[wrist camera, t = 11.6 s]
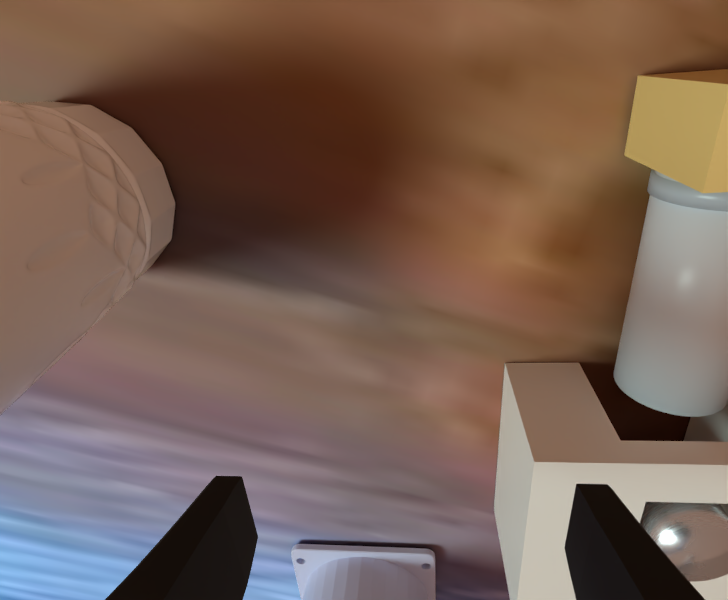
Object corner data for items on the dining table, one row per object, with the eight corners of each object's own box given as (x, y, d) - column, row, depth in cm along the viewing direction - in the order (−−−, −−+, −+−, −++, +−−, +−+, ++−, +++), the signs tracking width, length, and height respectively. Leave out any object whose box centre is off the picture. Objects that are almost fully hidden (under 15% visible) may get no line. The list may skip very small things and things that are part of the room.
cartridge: (704, 354, 19) (790, 443, 15) (588, 355, 19) (638, 441, 15) (792, 63, 14) (959, 68, 10) (636, 75, 15) (730, 84, 10)
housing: (726, 515, 23) (811, 639, 18) (494, 508, 24) (514, 623, 19) (789, 361, 19) (920, 468, 14) (505, 362, 20) (534, 461, 15)
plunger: (702, 530, 18) (734, 583, 16) (624, 528, 18) (646, 579, 16) (722, 478, 17) (759, 528, 15) (638, 476, 17) (664, 525, 15)
